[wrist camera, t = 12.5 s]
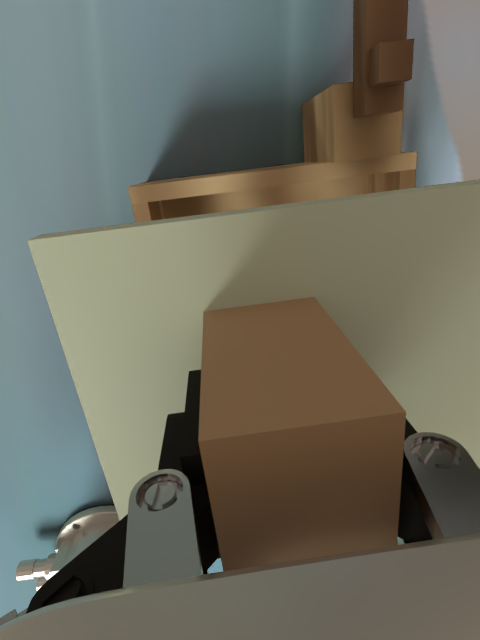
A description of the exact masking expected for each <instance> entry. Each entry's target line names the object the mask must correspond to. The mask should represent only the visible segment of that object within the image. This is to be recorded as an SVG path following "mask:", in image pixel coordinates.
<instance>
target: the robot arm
mask: <svg viewBox="0 0 480 640" xmlns="http://www.w3.org/2000/svg"><path fill="white" fill-rule="evenodd" d="M200 387H201V370H193V371H189V374H188V384H187V393H186V403H185V412H180V413H173V414H168V416H167V420H166V426H165V431H164V437H163V443H162V449H161V454H160V460H159V466H158V471H155V472H152V473H150V474H148V475H146V476H145V477H143V478H142V479H141V480H140V481H139V482H137V483H136V484H135V486H134V487H133V489H132V491H131V493H130V497H129V505H128V514H127V515H126V516H125V517H123V518H122V519H121V520H119V517H118V514H117V511H116V508H115V506H113V505H109V506H98V507H94V508H89V509H87V510H84V511H81V512H79V513H77V514H76V515H74V516H72V517H71V518H70V519H69V520H68V521H67V522H65V524H64V525H63V527H62V528H61V530H60V533H59V535H58V537H57V540H56V545H55V550H56V553H52V554H50V555H49V556H48V558H45V559H32V560H24V561H21V562H20V563H19V565H18V567H17V571H16V578H17V581H26V580H33V579H37V578H38V580H37V583H36V589H37V593H36V594H35V595H34V597H33V598H32V600H31V602H30V604H29V607H28V608H27V609H25V610H24V611H22V612H20V613H19V614H17V612H16V610H15V609H14V610H12V611H11V612H9V613H8V614H6V615H4V616H3V617H1V618H0V640H480V469H479V468H478V466H477V465H476V463H475V462H474V460H473V459H472V457H471V456H470V455H469V453H468V452H467V450H466V449H465V448H464V447H463V446H462V445H461V444H460V443H458V442H457V441H455V440H454V439H452V438H450V437H447V436H445V435H442V434H438V433H433V432H421V433H417V431H416V430H415V429H414V428H413V426H412V425H411V424H410V422H409V421H408V420H407V419H406V423H405V437H404V451H403V465H402V480H401V494H400V508H399V522H398V537H397V538H398V544H399V545H393V546H386V547H380V548H373V549H366V550H360V551H353V552H347V553H340V554H333V555H327V556H320V557H314V558H307V559H300V560H294V561H287V562H281V563H274V564H268V565H262V566H255V567H249V568H243V569H236V570H230V571H223V572H217V573H211V574H209V572H208V568H209V567H210V566H211V565H212V564H213V563H214V562H215V560H216V559H217V558H221V555H220V550H219V545H218V540H217V535H216V530H215V525H214V520H213V514H212V509H211V504H210V499H209V494H208V489H207V484H206V478H205V473H204V468H203V463H202V458H201V453H200V448H199V443H198V436H199V412H200Z"/></svg>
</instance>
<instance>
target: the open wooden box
mask: <svg viewBox="0 0 480 640" xmlns="http://www.w3.org/2000/svg"><path fill="white" fill-rule="evenodd" d="M403 100H404V93H403ZM302 117H303V142H304V162H303V163H295V164H287V165H279V166H271V167H263V168H254V169H246V170H238V171H230V172H222V173H214V174H205V175H197V176H189V177H181V178H173V179H165V180H156V181H148V182H144V183H141V184H137V185H134V186H130V187H128V190H129V195H130V199H131V204H132V208H133V213H134V218H135V222H136V223H137V222H145V221H153V220H161V219H169V218H177V217H185V216H193V215H201V214H209V213H217V212H225V211H233V210H241V209H249V208H257V207H265V206H273V205H281V204H289V203H297V202H305V201H313V200H321V199H329V198H337V197H345V196H353V195H361V194H369V193H377V192H385V191H393V190H401V189H408V188H415V176H416V161H417V152H403V153H401V139H402V120H403V110H401V111H397V112H394V113H390V114H385V115H376V116H368V117H360V118H353V82H350V83H341V84H333V85H332V86H330V87H329V88H327V89H326V90H324V91H322V92H321V93H319V94H318V95H316V96H315V97H313V98H312V99H310V100H309V101H307V102H305V103H304V104H302Z"/></svg>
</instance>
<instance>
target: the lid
mask: <svg viewBox="0 0 480 640" xmlns="http://www.w3.org/2000/svg"><path fill="white" fill-rule="evenodd" d="M27 241H28V244H29V247H30V250H31V253H32V256H33V259H34V262H35V265H36V268H37V271H38V275H39V278H40V281H41V284H42V287H43V290H44V293H45V296H46V299H47V302H48V305H49V308H50V311H51V314H52V317H53V320H54V323H55V326H56V329H57V332H58V335H59V338H60V341H61V344H62V347H63V350H64V353H65V356H66V359H67V363H68V366H69V369H70V372H71V375H72V378H73V381H74V384H75V387H76V390H77V393H78V396H79V399H80V402H81V405H82V408H83V411H84V414H85V417H86V420H87V423H88V426H89V429H90V432H91V435H92V438H93V441H94V444H95V447H96V450H97V454H98V457H99V460H100V463H101V466H102V469H103V472H104V475H105V478H106V481H107V484H108V487H109V490H110V493H111V496H112V499H113V502H114V505H115V508H116V511H117V514H118V517H119V520H121V519H122V518H123V517H125V516H126V515H127V514H128V505H129V497H130V493H131V491H132V489H133V487H134V486H135V484H136V483H137V482H139V481H140V480H141V479H142V478H143V477H145V476H146V475H148V474H150V473H152V472H155V471H158V466H159V460H160V454H161V449H162V443H163V437H164V431H165V426H166V420H167V416H168V414H173V413H180V412H185V403H186V393H187V384H188V374H189V371H193V370H201V387H200V412H199V436H198V443H199V448H200V453H201V458H202V463H203V468H204V473H205V478H206V484H207V489H208V494H209V499H210V504H211V509H212V514H213V520H214V525H215V530H216V535H217V540H218V545H219V550H220V555H221V561H222V566H223V571H230V570H236V569H243V568H249V567H255V566H262V565H268V564H274V563H281V562H287V561H294V560H300V559H307V558H314V557H320V556H327V555H333V554H340V553H347V552H353V551H360V550H366V549H373V548H380V547H386V546H393V545H397V537H398V522H399V508H400V494H401V480H402V465H403V451H404V437H405V423H406V419H407V420H408V421H409V422H410V424H411V425H412V426H413V428H414V429H415V430H416V431H417V433H421V432H433V433H438V434H442V435H445V436H447V437H450V438H452V439H454V440H455V441H457V442H458V443H460V444H461V445H462V446H463V447H464V448H465V449H466V450H467V452H468V453H469V455H470V456H471V457H472V459H473V460H474V462H475V463H476V465H477V466H478V468H479V469H480V180H472V181H464V182H456V183H448V184H440V185H432V186H424V187H416V188H408V189H401V190H393V191H385V192H377V193H369V194H361V195H353V196H345V197H337V198H329V199H321V200H313V201H305V202H297V203H289V204H281V205H273V206H265V207H257V208H249V209H241V210H233V211H225V212H217V213H209V214H201V215H193V216H185V217H177V218H169V219H161V220H153V221H145V222H137V223H129V224H121V225H113V226H106V227H98V228H90V229H82V230H74V231H66V232H58V233H50V234H42V235H39V236H37V237H35V238H32V239H30V240H27Z"/></svg>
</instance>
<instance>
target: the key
mask: <svg viewBox="0 0 480 640" xmlns="http://www.w3.org/2000/svg"><path fill="white" fill-rule="evenodd" d="M407 15H408V0H354V12H353V118H360V117H368V116H376V115H385V114H390V113H394V112H397V111H401V110H403V93H404V82H406V81H408V80H410V79H412V63H413V46H414V39H407V40H406V34H407Z"/></svg>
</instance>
